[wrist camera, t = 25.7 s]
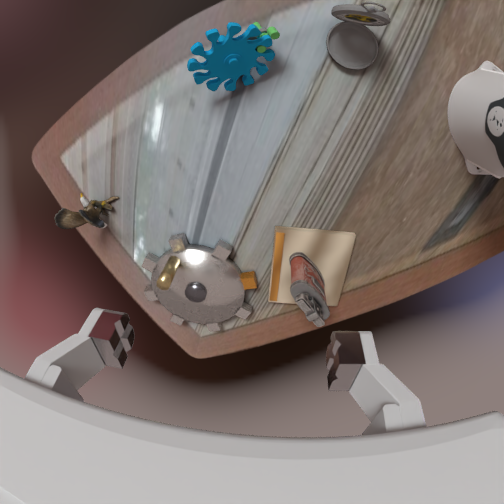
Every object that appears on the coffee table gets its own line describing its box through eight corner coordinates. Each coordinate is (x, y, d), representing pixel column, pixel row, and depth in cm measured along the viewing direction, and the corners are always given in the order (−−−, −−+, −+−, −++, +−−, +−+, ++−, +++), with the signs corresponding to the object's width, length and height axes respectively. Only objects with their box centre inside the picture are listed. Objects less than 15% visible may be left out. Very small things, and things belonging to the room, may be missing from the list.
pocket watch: (342, 77, 32) (363, 78, 24) (308, 22, 28) (318, 5, 20) (394, 55, 29) (428, 52, 21) (362, 1, 26) (387, -19, 17)
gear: (217, 106, 35) (171, 61, 26) (207, 78, 36) (164, 35, 27) (296, 66, 31) (266, 8, 22) (278, 41, 33) (248, -12, 23)
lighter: (329, 282, 48) (337, 327, 40) (311, 291, 49) (315, 337, 41) (302, 247, 45) (307, 291, 37) (283, 258, 46) (284, 303, 38)
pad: (354, 232, 44) (356, 236, 43) (336, 302, 52) (337, 306, 51) (275, 225, 44) (275, 229, 43) (268, 297, 52) (268, 302, 51)
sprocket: (218, 213, 44) (208, 240, 37) (276, 307, 53) (275, 340, 46) (122, 259, 50) (104, 286, 43) (185, 334, 59) (176, 364, 52)
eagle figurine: (106, 175, 42) (75, 199, 34) (129, 213, 45) (103, 242, 38) (76, 195, 44) (45, 220, 36) (98, 229, 47) (71, 258, 40)
